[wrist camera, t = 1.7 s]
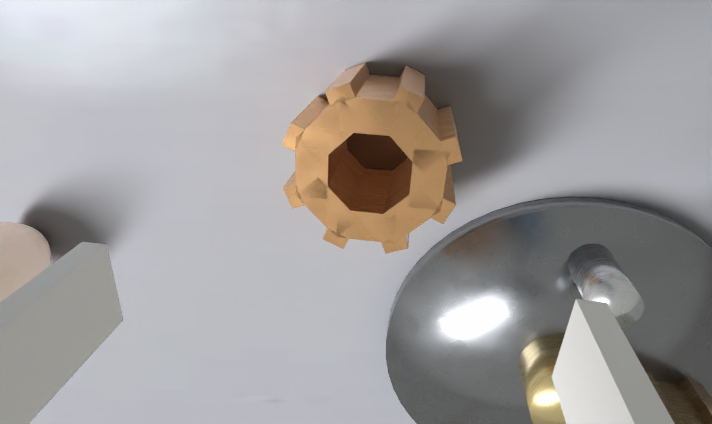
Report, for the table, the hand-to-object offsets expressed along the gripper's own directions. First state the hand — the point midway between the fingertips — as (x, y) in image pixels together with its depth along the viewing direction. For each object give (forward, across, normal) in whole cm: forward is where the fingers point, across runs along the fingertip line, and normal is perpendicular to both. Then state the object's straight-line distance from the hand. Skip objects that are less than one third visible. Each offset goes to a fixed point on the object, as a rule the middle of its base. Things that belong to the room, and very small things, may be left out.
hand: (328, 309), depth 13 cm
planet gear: (+16, 0, 0) cm, 16 cm away
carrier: (+16, +13, -14) cm, 25 cm away
